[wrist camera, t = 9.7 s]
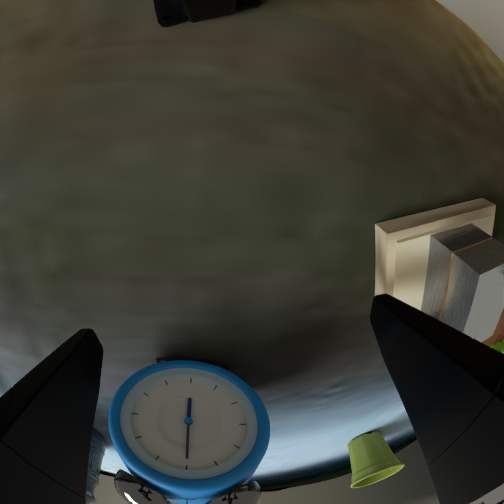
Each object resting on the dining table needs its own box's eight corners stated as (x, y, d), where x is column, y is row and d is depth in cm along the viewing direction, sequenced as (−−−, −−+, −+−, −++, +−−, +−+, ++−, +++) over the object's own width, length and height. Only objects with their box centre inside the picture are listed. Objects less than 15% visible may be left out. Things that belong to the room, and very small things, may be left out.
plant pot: (396, 428, 40) (411, 464, 32) (355, 452, 42) (366, 487, 35) (374, 421, 36) (391, 465, 28) (329, 447, 39) (340, 489, 31)
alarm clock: (261, 361, 26) (285, 511, 13) (251, 396, 29) (266, 522, 15) (125, 347, 24) (89, 493, 11) (133, 385, 27) (111, 509, 13)
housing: (420, 313, 22) (456, 362, 17) (430, 235, 19) (485, 279, 13) (458, 297, 22) (496, 339, 16) (471, 223, 19) (524, 259, 13)
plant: (415, 374, 32) (448, 436, 22) (507, 264, 25) (561, 312, 15) (461, 387, 38) (486, 429, 28) (528, 308, 31) (562, 345, 21)
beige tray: (375, 223, 20) (389, 235, 18) (482, 197, 20) (497, 206, 18) (373, 319, 25) (383, 335, 23) (469, 282, 25) (481, 293, 23)
